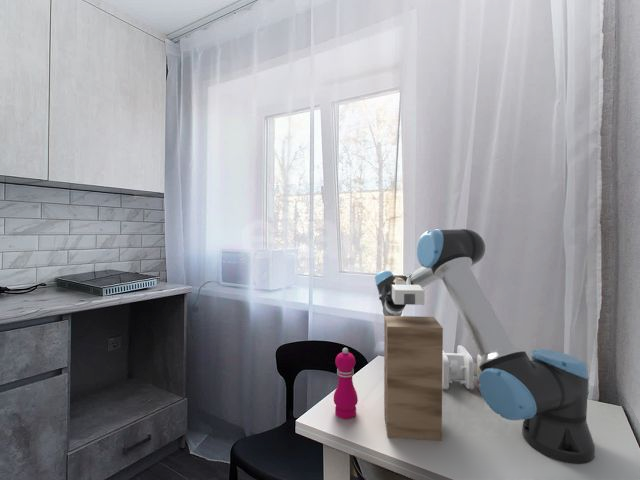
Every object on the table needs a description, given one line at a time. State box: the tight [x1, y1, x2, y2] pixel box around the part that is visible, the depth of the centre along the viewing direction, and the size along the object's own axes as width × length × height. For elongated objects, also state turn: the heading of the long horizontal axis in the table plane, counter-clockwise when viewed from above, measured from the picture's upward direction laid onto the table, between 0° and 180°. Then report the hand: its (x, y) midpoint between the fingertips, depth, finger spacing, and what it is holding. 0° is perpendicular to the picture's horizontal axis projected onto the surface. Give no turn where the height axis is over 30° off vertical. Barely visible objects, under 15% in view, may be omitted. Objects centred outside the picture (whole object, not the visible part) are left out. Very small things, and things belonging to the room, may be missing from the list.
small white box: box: [392, 278, 425, 306], centre depth 103 cm, size 23×8×4 cm, turn 174°
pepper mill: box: [333, 347, 359, 420], centre depth 99 cm, size 7×7×20 cm
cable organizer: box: [442, 345, 475, 390], centre depth 117 cm, size 15×11×12 cm
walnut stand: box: [383, 315, 444, 441], centre depth 92 cm, size 10×14×30 cm
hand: (403, 281), depth 104 cm, fingers closed on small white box, 3 cm apart
